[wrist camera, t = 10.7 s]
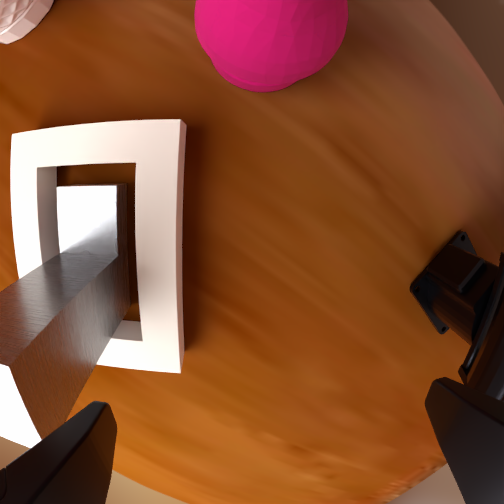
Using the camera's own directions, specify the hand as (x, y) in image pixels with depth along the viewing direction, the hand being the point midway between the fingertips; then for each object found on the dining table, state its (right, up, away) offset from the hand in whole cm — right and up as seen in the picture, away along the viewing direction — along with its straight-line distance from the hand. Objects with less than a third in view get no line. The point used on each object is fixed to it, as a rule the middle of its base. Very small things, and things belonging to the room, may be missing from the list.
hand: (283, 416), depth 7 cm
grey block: (-11, +5, +11) cm, 16 cm away
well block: (-11, +5, +11) cm, 16 cm away
